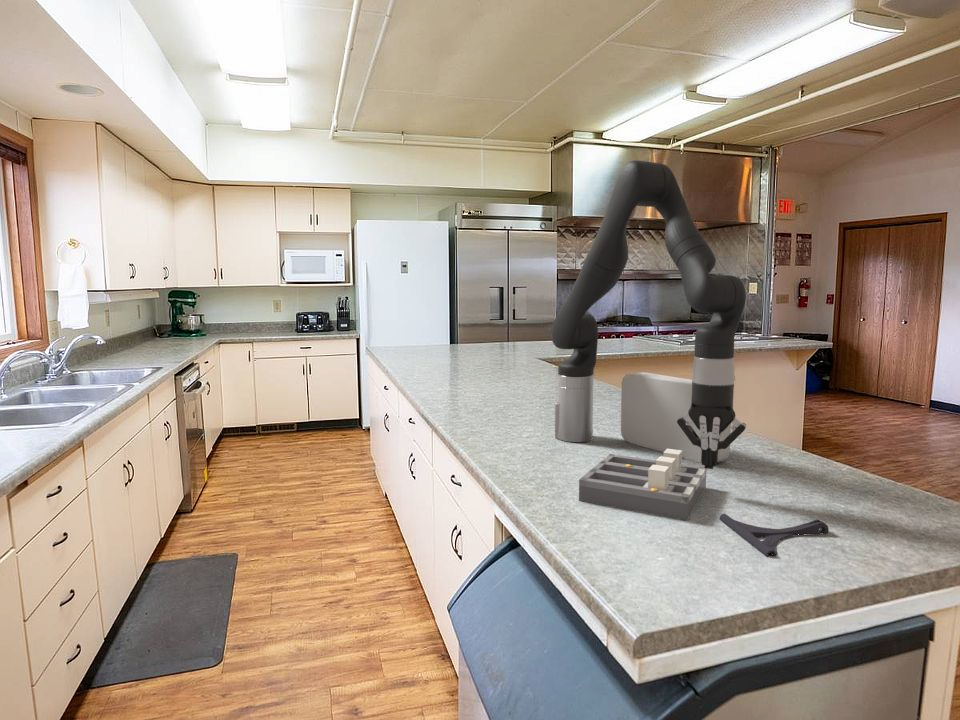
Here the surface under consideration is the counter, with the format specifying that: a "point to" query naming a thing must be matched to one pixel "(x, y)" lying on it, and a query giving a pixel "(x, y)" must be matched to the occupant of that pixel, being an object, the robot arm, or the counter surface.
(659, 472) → the switch front
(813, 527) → the bracket
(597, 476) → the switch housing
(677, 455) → the switch back
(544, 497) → the counter surface
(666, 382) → the grey block
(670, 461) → the switch middle
